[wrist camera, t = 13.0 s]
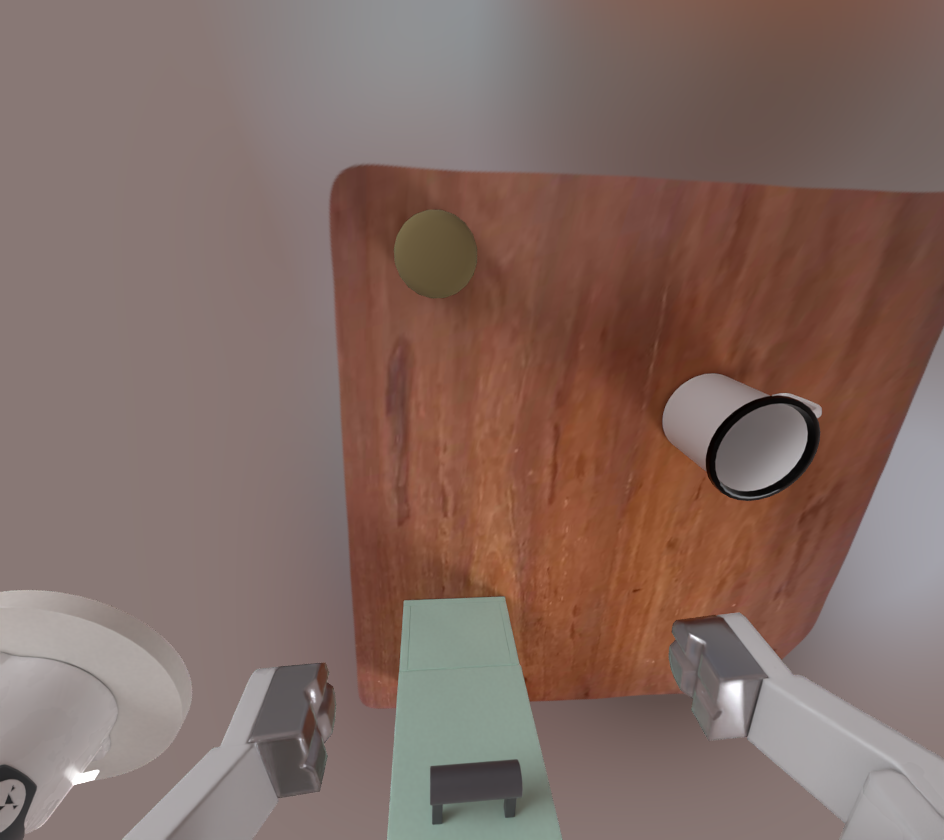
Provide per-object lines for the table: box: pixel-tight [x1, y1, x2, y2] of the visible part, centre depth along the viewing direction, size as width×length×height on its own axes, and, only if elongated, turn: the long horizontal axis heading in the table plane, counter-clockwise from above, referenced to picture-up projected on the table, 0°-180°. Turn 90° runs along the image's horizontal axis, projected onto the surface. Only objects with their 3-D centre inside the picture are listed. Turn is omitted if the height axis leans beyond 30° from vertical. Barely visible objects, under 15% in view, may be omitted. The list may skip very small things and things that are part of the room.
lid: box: [387, 665, 563, 840], centre depth 34 cm, size 14×12×5 cm
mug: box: [662, 373, 822, 501], centre depth 40 cm, size 12×9×9 cm
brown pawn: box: [394, 210, 477, 298], centre depth 31 cm, size 6×6×11 cm
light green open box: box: [399, 597, 519, 672], centre depth 48 cm, size 14×12×9 cm
